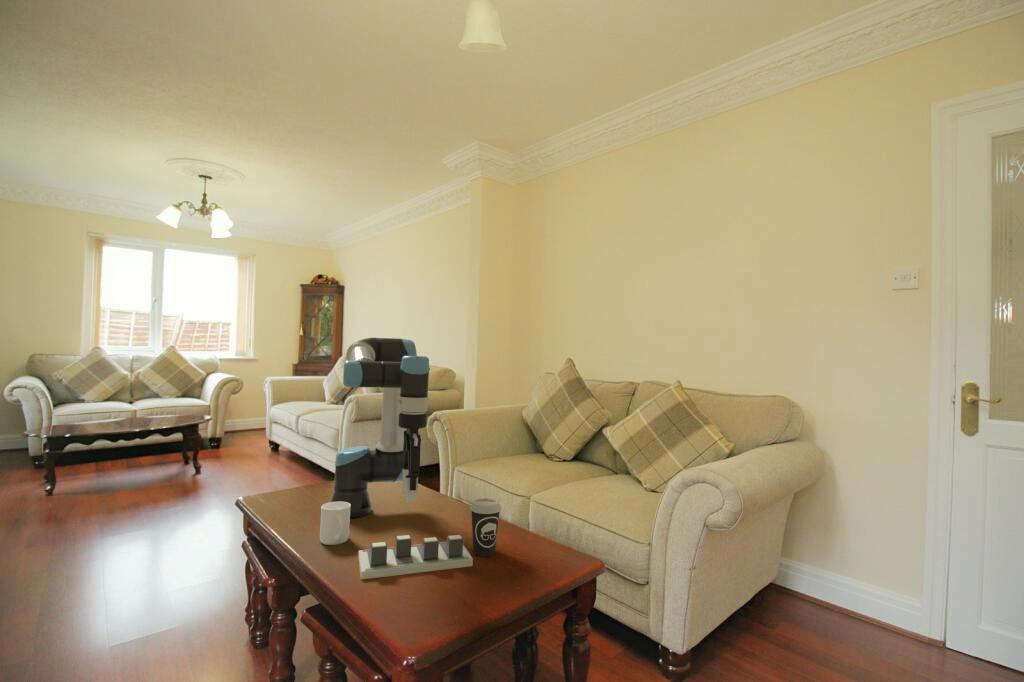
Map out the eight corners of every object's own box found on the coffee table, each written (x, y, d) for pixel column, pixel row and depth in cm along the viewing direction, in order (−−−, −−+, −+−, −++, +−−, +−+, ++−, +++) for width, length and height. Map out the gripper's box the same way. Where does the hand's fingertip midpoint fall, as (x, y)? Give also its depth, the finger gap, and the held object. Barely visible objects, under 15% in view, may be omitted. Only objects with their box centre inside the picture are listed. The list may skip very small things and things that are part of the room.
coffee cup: (504, 548, 147) (506, 499, 148) (492, 560, 138) (495, 508, 139) (475, 543, 150) (477, 495, 151) (462, 555, 141) (465, 503, 142)
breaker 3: (421, 555, 134) (422, 538, 134) (435, 553, 135) (436, 536, 136) (423, 559, 131) (424, 542, 131) (438, 557, 133) (438, 540, 133)
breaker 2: (394, 552, 135) (395, 535, 135) (409, 551, 136) (409, 534, 136) (396, 557, 132) (397, 539, 132) (410, 555, 133) (411, 538, 134)
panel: (358, 557, 137) (358, 549, 137) (460, 546, 147) (460, 539, 147) (361, 579, 123) (361, 570, 124) (472, 566, 134) (472, 558, 134)
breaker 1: (370, 560, 129) (370, 542, 129) (385, 559, 131) (386, 541, 131) (370, 565, 126) (371, 547, 126) (386, 563, 128) (387, 545, 128)
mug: (325, 551, 140) (327, 514, 140) (316, 538, 150) (318, 503, 150) (355, 546, 144) (356, 510, 145) (344, 533, 154) (346, 499, 155)
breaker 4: (446, 552, 137) (447, 535, 137) (459, 551, 138) (460, 534, 138) (448, 556, 134) (449, 539, 134) (462, 555, 135) (463, 538, 135)
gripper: (394, 408, 138) (390, 488, 137) (404, 417, 119) (400, 510, 118) (420, 408, 140) (416, 486, 140) (434, 417, 121) (430, 508, 120)
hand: (409, 497), depth 129 cm, fingers open, 8 cm apart
